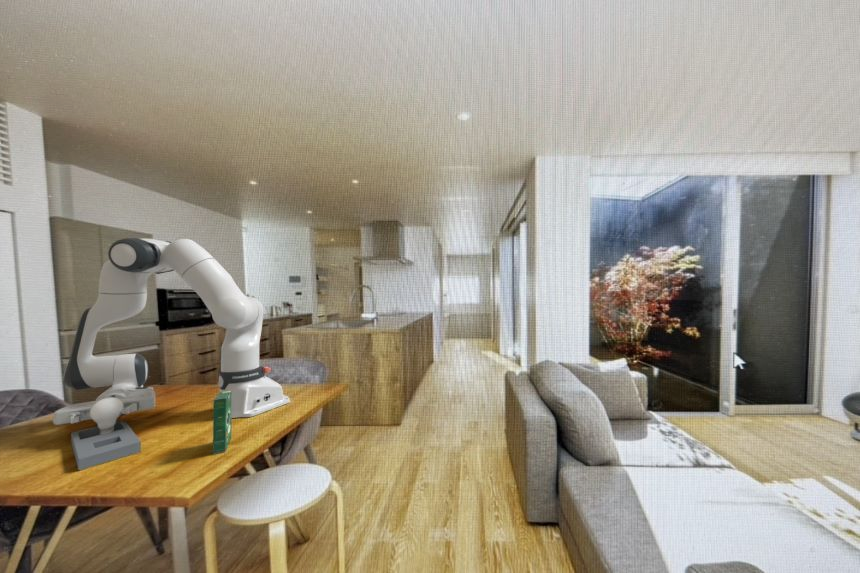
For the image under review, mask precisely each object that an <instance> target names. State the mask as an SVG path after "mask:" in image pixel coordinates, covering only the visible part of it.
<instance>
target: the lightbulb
mask: <svg viewBox="0 0 860 573" xmlns="http://www.w3.org/2000/svg"><path fill="white" fill-rule="evenodd" d="M123 408H124V405H123V402H122V401H121V400H120V399H118V398H113V397H109V398H104V399H102V400H99V401H98V402H96V403H95V404H94V405H93V406H92V408H91V409H90V417H91V418H92V419H91V420H93V422H94V423H96V425H97V426H98V428H99V429H100V435H101V434H105V433H109V432H113V430H114V425H115V423H116V422H117V419H118V418H119V417H118V416H119V415H120V414H121V410H122V409H123Z"/></svg>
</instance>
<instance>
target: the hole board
mask: <svg viewBox="0 0 860 573" xmlns="http://www.w3.org/2000/svg"><path fill="white" fill-rule="evenodd" d="M70 435H71V438H70V439H71V446H72V451H73V454H74V459H75V462H76V466H77V470H80V471H83V470H86V469H85V468H87V469H90V468H92V467H91V466H93V467H96V466H99V465H98V464H100V465H103V464H105V462H106V463H109V462H108V461H110V462H113V461H115V459H116V460H119V459H123V458H125V457H128V456H129V457H130V456H133V455H135V453H136V454H138V453H141V452H142V441H141V440H140V438H139V437H138V436H137V435H136V433H135V432H134V431H133V430H132V428H131V427H130V425H129V424H128V423H127V422H126V420H124V419H122V420H119V421H116V423H115V425H114V430H113V432H109V433H105V434H101V435H100V429H99V428H98V425H97V426H92V427H90V428H85V429H80V430H76V431H72V432H71V434H70ZM112 460H113V461H112ZM102 463H103V464H102ZM95 465H96V466H95ZM89 467H90V468H89ZM82 469H83V470H82Z"/></svg>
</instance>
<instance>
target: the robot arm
mask: <svg viewBox="0 0 860 573" xmlns="http://www.w3.org/2000/svg"><path fill="white" fill-rule="evenodd" d="M109 246H110V247H109V248H108V252H107V254H108V255H107V258H108V260H107V261H105V262H104V263H103V265H102V267H101V271H100V274H99V275H100V276H99V282H98V296H97V299H96V301H95V303H94V304H93V305H92V306H90V307H88V308H86V309H85V310H84V311H83V312H82V315H81V317H80V319H79V322H78V326H77V329H76V332H75V336H74V341H73V344H72V345H73V346H72V349H71V353H70V356H69V359H68V361H67V362H68V363H67V366H66V368H65V371H64V373H63V377H62V378H63V384H64V385H65V386H66V387H68V388H70V389H72V390H75V391H77V392H79V391H83V390H89V389H94V388H99V387H101V388H102V387H108V386H111V387H109V388H108V389H107V390H105V391H104V392H102V393H101V394H100V395H99V396H97V398H96V399H95V400H92V401H85V402H79V403H74V404H69V405H66V406H64V407H62V408H59V409H57V410H56V411H55V412H53V416H52V417H53V418H52V423H53V425H55V426H61V425H66V424H71V425H72V424H79V423H81V422H82V421H84V422H85V421H89V420H90V421H91V420H93V419H92V418H91V417H90V409H91V408H92V406H93V405H94V404H95V403H96V402H98V401H99V400H102V399H104V398H109V397H113V398H118V399H120V400H121V401H122V402H123V405H124V408H123V409H122V410H121V414H120V415H119V416H118V418H119V417H122V416H125V415H129V414H131V413H137V412H141V411H148V410H152V409H154V408H155V407H156V392H155V391H154V387H153V386H144V384H145V383H146V382H147V381H148V378H149V371H150V369H149V368H150V367H149V362H148V360H147V359H146V357H144V356H143V355H142V354H140V353H138V352H137V353H124V354H123V353H122V354H116V355H113V354H112V355H104V356H95V355H93V351H94V348H95V342H96V338H97V336H98V332H99V330H100V329H101V328H103V327H106V326H108V325H111V324H114V323H117V322H121V321H123V320H127V319H130V318H132V317H134V316H137V315H138V314H140V313H141V312H142V311H143V310H144V309H145V307H146V306H147V301H148V298H147V297H148V284H147V282H148V279H149V277H150V276H151V275H153V274H157V275H161V274H164V273H170V272H173V271H174V272H175V273H177V274H178V275H179V276H180V278H182V280H183V281H184V282H185V283H186V284H187V285H188V287H190V288H191V289H192V291H194V292H195V293H196V294H197V295H198V296H199V298H200V299H201V301H202V302H203V303H204V305H205V306H206V308H207V310H208V311H209V313H210V314H211V316H212V320H213V321H214V323H215V324H216V326H219V327H221V328H223V329H226V331H225V336H224V340H223V343H222V345H221V349H220V355H221V357H220V371H219V373H218V374H219V375H218V376H219V377H218V387H219V393H220V392H223V391H231V419H235V418H250V417H251V418H252V417H255V416H257V415H260V414H263V413H266V412H269V411H270V410H273V409H276V408H279V407H281V406H284V405H287V404H289V403H291V398H290V397H289V396H288V395H285V394H284V391H283V387H282V385H281V384H280V383H278V382H276V381H275V380H274V379H272V378H270V377H268V376H266V375H265V374H270V372H271V369H272V368H270V367H269V366H264V367H263V366H261V365H260V342H261V337H262V336H261V334H262V329H263V322H264V321H263V320H264V314H265V307H264V305H263V303H262V302H261V301H260V300H259V299H257V298H256V297H253V296H247V295H246V294H244V293H243V291H242V290H241V289H240V288H239V286H238V285H237V284H236V282H235V280H234V278H233V277H232V275H231V274H230V273H229V272H228V271H227V270H226V269H225V268H224V267H223V265H221V264H220V263H219V262H218V260H217V259H216V258H215V257H213V255H212V254H210V253H209V252H208V250H206V249H205V248H204V247H203V246H202V245H200V244H199V243H198V242H196V241H194V240H192V239H189V238H178V239H176V240H173V241H170V240H169V241H168V240H162V239H161V240H159V239H155V238H154V239H153V238H146V237H145V238H143V237H142V238H140V237H139V238H138V237H128V238H127V237H126V238H121V239H118V240H115V241H114V242H113V243H111V245H109Z"/></svg>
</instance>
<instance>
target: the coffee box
mask: <svg viewBox="0 0 860 573" xmlns="http://www.w3.org/2000/svg"><path fill="white" fill-rule="evenodd" d="M212 401H213V404H212V406H213V408H212V409H213V414H212V416H213V417H212V418H213V419H212V437H213V438H212V455H216V454H221V453H224V452H226V451H227V449H228V446H229V445H230V442H231V439H232V418H231V391H223V392H220V391H219V393H218V394H217V395H216V396H215V397H214V398H213V400H212Z"/></svg>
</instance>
